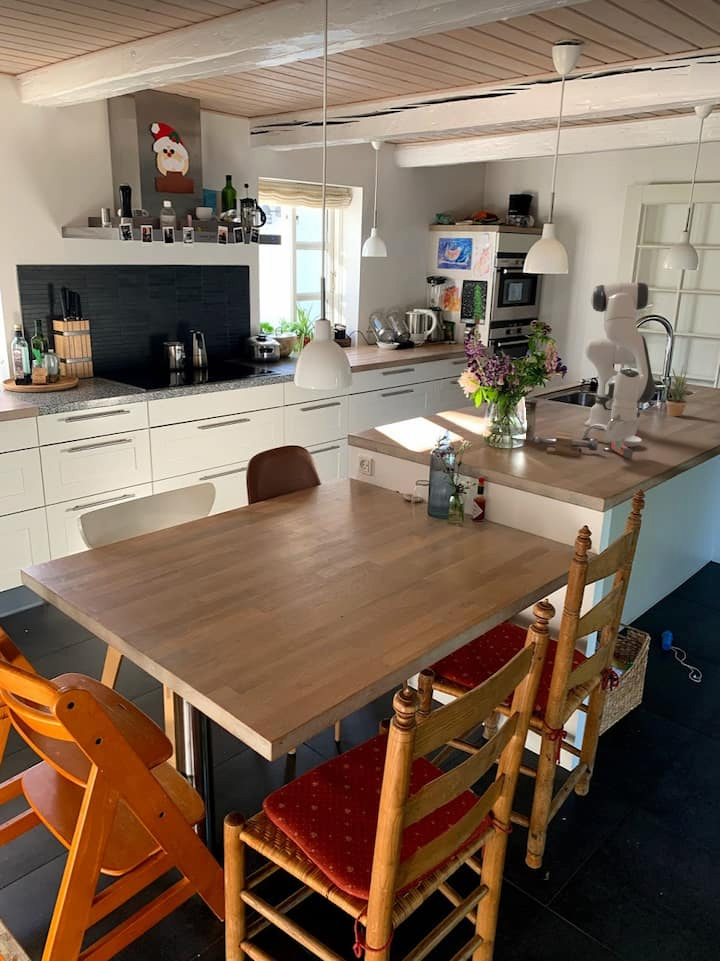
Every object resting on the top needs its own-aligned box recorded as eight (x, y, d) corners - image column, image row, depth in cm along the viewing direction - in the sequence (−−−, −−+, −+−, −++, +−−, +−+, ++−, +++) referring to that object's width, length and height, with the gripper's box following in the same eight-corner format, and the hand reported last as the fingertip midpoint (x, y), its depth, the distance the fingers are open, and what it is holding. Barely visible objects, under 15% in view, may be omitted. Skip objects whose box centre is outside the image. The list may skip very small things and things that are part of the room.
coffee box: (509, 438, 311) (513, 400, 306) (512, 435, 316) (515, 397, 312) (532, 441, 308) (536, 402, 303) (534, 437, 314) (537, 399, 309)
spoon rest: (644, 446, 306) (647, 428, 304) (635, 451, 297) (637, 434, 295) (588, 436, 319) (589, 419, 317) (577, 441, 310) (579, 424, 308)
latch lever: (610, 448, 295) (611, 441, 294) (615, 448, 295) (616, 441, 294) (627, 457, 282) (628, 450, 281) (632, 457, 283) (633, 450, 282)
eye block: (548, 444, 303) (550, 429, 301) (579, 447, 300) (581, 432, 298) (546, 453, 290) (548, 437, 288) (578, 456, 287) (580, 440, 285)
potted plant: (660, 414, 364) (667, 363, 357) (669, 412, 370) (677, 362, 363) (680, 418, 357) (688, 366, 350) (689, 416, 363) (697, 364, 356)
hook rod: (534, 443, 299) (535, 433, 298) (597, 448, 292) (598, 438, 291) (533, 444, 296) (534, 434, 295) (597, 450, 290) (598, 440, 288)
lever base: (603, 447, 300) (604, 436, 299) (618, 449, 299) (620, 438, 298) (603, 451, 295) (604, 440, 294) (619, 452, 293) (620, 441, 292)
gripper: (619, 419, 272) (614, 456, 276) (642, 411, 287) (637, 447, 291) (603, 416, 276) (598, 452, 280) (626, 409, 291) (622, 444, 295)
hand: (618, 449), depth 286 cm, fingers closed
